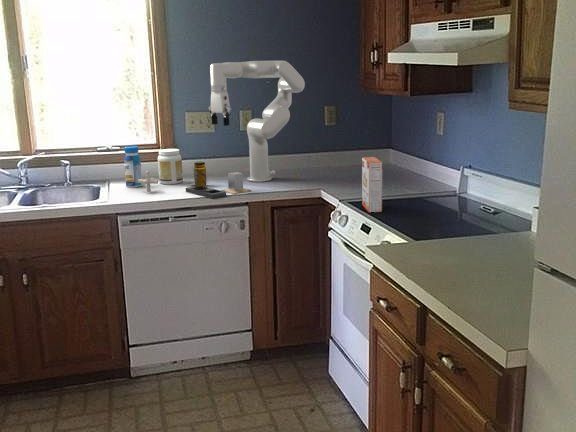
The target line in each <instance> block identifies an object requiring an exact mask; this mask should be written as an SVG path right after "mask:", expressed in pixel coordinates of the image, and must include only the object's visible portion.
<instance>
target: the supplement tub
mask: <svg viewBox="0 0 576 432" xmlns="http://www.w3.org/2000/svg"><path fill="white" fill-rule="evenodd" d="M182 161H183V160H182V156H181V154H180V149H179V148H165V149H164V148H163V149H160V150H158V156H157V168H158V169H157V170H158V183H160V184H162V185H178V184H181V183H182V182H183V181H184V175H183V162H182Z"/></svg>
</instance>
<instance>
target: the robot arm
mask: <svg viewBox="0 0 576 432" xmlns="http://www.w3.org/2000/svg"><path fill="white" fill-rule="evenodd" d="M209 70H210V71H209V72H210V93H211V94H210V105H209V106H208V107H207V108H208V110H209V115H210V117H211V125H218V123H219V122H218V116H217V114H222V116H223V117H222V121H223V126H224V127H226V126H227V127H228V126H230V117H231V115H232V107H231V105H230V99H229V97H230V96H229V93H228V91H227V90H228V87H227V79H237V78H238V79H239V78H246V79H268V78H269V79H270V78H271V79H272V78H273V79H274V78H275V79H276V78H279V80H278V82H277V95H276V97H275V98H274V99H273V100H272V101H271V102H270V103H269V104H268V105H267V106H266V107H265V108H264V109H263V111H262V118H252V119H251V120H249V122H247V125H246V133H247V134H246V135H247V138H248V147H249V173H250V174H249V176H248V177H247V181H248V182H256V183H259V182H260V183H261V182H262V183H263V182H270V181H272V179H273V177H272V175H276V170H269V147H268V145H269V144H268V140H269V139H272V138H274V137H275V136H276V135H277V134H278V133H279V132H280V131H281V130H282V129H283V128H284V127H285V126H286V125H287V124H288V122H289V121H290V118H291V114H290V110H289V108H290V106H291V105H292V101H293V100H292V99H293V98H292V95H293V93H294V94H295V93H296V94H297V93H301V92H303V90H304V89H305V87H306V86H305V85H306V82H305V80H304V78H303V76H302V75H301V74H300V73H299V72H298V71H297V70H296V69H295V67H293V65H292V64H291V63H289V62H288V61H286V60H251V61H250V60H249V61H238V62H237V61H236V62H235V61H234V62H233V61H232V62H231V61H229V62H228V61H227V62H216V63H215V62H214V63H211V64H210V66H209Z"/></svg>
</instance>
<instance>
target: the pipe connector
mask: <svg viewBox="0 0 576 432" xmlns="http://www.w3.org/2000/svg"><path fill="white" fill-rule="evenodd" d="M150 175H151V174H150V171H149V170H145V179H139V180H138V183H141V184H142V186H144V185H146V192H147V193H150V192H151V191H152V190H151V189H152V188H151V185H152V184H154V185H155V184H158V183H159V179H158V180H157V179H156V178H155V177H151V176H150ZM150 177H151V178H150Z"/></svg>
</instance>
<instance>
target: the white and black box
mask: <svg viewBox="0 0 576 432" xmlns="http://www.w3.org/2000/svg"><path fill="white" fill-rule="evenodd" d="M243 174H244V173H242V172H238V171H234V172H228V173H227V185H228V188H227V189H229V190H231V191H239V190H243V188H244V176H243Z"/></svg>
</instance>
